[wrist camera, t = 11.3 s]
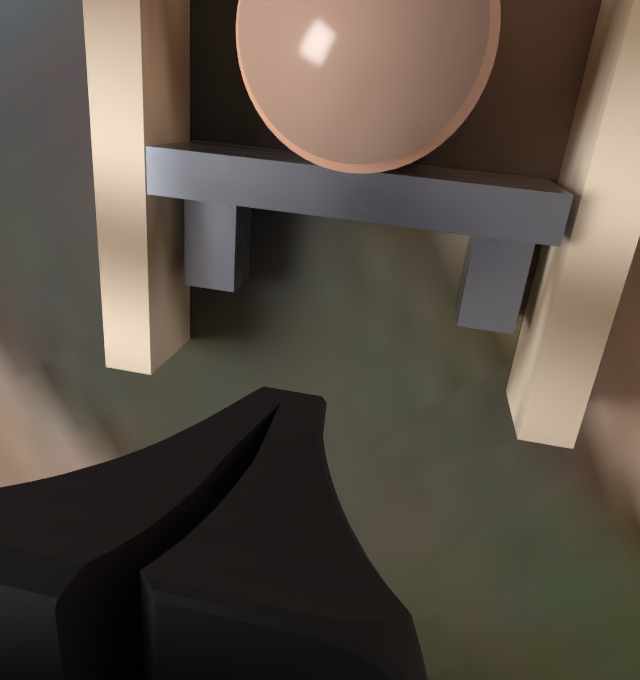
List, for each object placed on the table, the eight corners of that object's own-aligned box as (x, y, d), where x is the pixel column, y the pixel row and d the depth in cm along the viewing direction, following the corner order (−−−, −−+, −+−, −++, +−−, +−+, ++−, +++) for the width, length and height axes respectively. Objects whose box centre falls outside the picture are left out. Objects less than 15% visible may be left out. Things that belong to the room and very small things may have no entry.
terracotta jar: (463, 168, 16) (473, 190, 12) (280, 148, 17) (223, 162, 13) (503, -57, 14) (534, -136, 10) (292, -68, 15) (229, -146, 11)
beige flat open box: (553, 398, 18) (573, 448, 16) (150, 332, 20) (105, 366, 18) (836, -601, 10) (980, -858, 8) (125, -549, 12) (36, -736, 10)
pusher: (513, 316, 18) (530, 362, 14) (198, 270, 19) (150, 302, 16) (546, 178, 16) (573, 194, 13) (199, 139, 18) (145, 146, 14)
